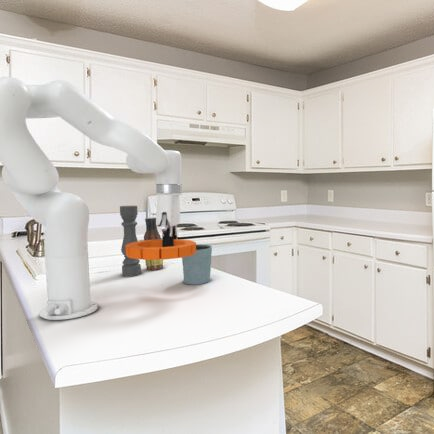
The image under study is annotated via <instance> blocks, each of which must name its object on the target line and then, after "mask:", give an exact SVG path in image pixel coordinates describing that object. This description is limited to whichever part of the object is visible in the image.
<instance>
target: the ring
mask: <svg viewBox="0 0 434 434" xmlns="http://www.w3.org/2000/svg"><path fill="white" fill-rule="evenodd" d="M173 242H174V246H172V247H163V242H162V238H161V239H157V240H144V239H143V240H138V241H137V242H132V243H129V244H126V245H125V246H126V256H127V257H128V258H133V259H138V260H142V261H145V260H159V259H162V260H163V261H164V260H174V259H182V257H187V256H191V255H193V254H195V253H196V245H197V242H196V241H194V240H191V239H181V238H179V239H178V238H177V239H173Z"/></svg>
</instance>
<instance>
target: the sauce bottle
mask: <svg viewBox="0 0 434 434" xmlns="http://www.w3.org/2000/svg"><path fill="white" fill-rule="evenodd" d="M144 222H145V233H144V235H143V241H144V240H157V239H162V236H161V234H160V233H159V231H158V226H157V225H156V216H155V217H154V216H153V217H152V216H151V217H145V218H144ZM144 261H145V266H146V267H145V268H146V270H148V271H156V270H157V271H158V270H161V269H163V268H164V260H162V259H159V260H144Z"/></svg>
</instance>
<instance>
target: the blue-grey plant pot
mask: <svg viewBox="0 0 434 434" xmlns="http://www.w3.org/2000/svg"><path fill="white" fill-rule="evenodd" d="M212 253H213V246H212V245H209V244H201V243H200V244H199V243H198V244H197V243H196V253H195V254H193V255H191V256H187V257H182V258H181V263H182V273H183V283H184V284H186V285H203V284H207V283H209V282H210V281H211V271H212V270H211V269H212V267H211V266H212Z"/></svg>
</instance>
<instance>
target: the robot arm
mask: <svg viewBox="0 0 434 434" xmlns="http://www.w3.org/2000/svg"><path fill="white" fill-rule="evenodd" d="M52 118H60V119H62V120H63V121H64V122H66V123H67V124H69V125H71V126H72V127H73V128H75V129H76V130H77V131H78V132H79V133H82V134H83V135H84V136H85V137H87V138H88V139H89V140H90V141H93V142H95V143H97V144H100V145H103V146H107V147H110V148H113V149H116V150H119V151H121V152H122V153H125V154H127V155H126V157H125V163H126V166H127V167H128V169H130V170H131V171H132V172H134V173H137V174H155V194H156V195H157V197H156V199H157V200H156V206H155V207H156V209H155V211H156V212H155V218H156V225H157V228H159V227H160V230H161V235H162V236H161V239H162V242H163V247H172V246H174V242H173V239H178V229H177V228H178V225H180V223H181V203H180V201H181V200H180V196H182V195H183V184H182V183H183V182H182V181H183V179H182V174H183V173H182V154H181V152H180V151H178V150H174V149H164V148H163V147H162V146H161V145H160V144H158V143H157V142H156V141H155V140H153V139H152V138H151V137H150V136H148V135H147V134H145V133H144V132H142V131H141V130H139V129H137V128H135V127H133V126H131V125H129V124H128V123H126V122H124V121H122V120H120V119H119V118H116V117H114V116H113V115H112V114H111V113H109V112H108V111H107V110H106V109H104V108H103V107H102V106H100V105H99V104H98V103H97V102H96V101H94V100H93V99H91V97H89V96H88V95H87V94H86V93H84V92H83V91H81V90H80V89H79V88H78V87H76V86H75V85H74V84H73V83H70V82H69V81H66V80H60V79H59V80H53V81H49V82H47V83H44V84H25V82H23V81H22V80H20V79H19V78H16V77H12V76H0V163H1V165H2V166H3V167H2V169H1V179H2V182H3V183H4V185H5V187H6V188H7V189H8V191H9V192H10V193H11V195H12V196H13V197H14V198H15V199H16V200H17V202H18V203H19V205H21V206H22V207H23V209H24V211H26V212H27V214H28V215H29V216H30V217H31V218H32V219H33V220H34V221H35V222H36V223H38V224H40V225H42V226H44V227H45V231H44V238H43V239H44V241H43V252H44V261H45V262H44V263H45V278H46V291H47V293H46V294H47V306H46V307H45V308H43V309H41V310H39V317H41V318H43V319H44V320H50V321H61V320H62V321H63V320H71V319H77V318H80V317H81V318H82V317H85V316H89V315H90V314H92V313H95V312H96V311H97V310H98V307H99V306H98V302H96V301H92V300H91V299H92V297H91V280H90V279H91V278H90V264H89V261H90V260H89V249H88V248H89V246H88V231H89V223H90V210H89V206H88V204H87V203H86V202H85V200H84V199H83V198H82V197H80V196H79V195H77V194H74V193H71V192H64V191H61V190H60V189H59V188H58V184H59V181H60V175H59V172H58V170H57V167H55V165H54V164H53V163H52V161H51V160H50V159H49V157H48V156H47V155H46V154H45V152H44V151H43V150H42V148H41V147H40V146H39V144H38V143H37V141H36V140H35V138H34V137H33V135H32V133H31V132H30V131H29V128H28V126H27V119H52Z"/></svg>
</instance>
